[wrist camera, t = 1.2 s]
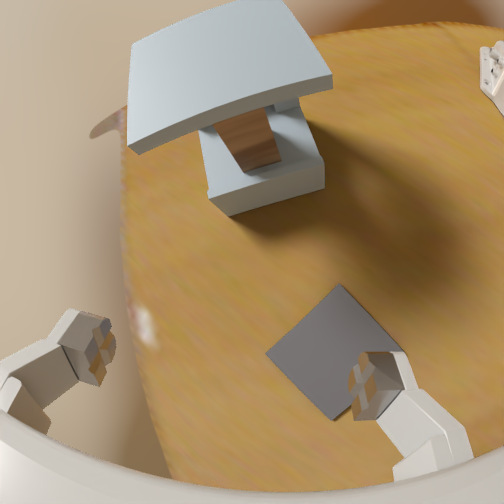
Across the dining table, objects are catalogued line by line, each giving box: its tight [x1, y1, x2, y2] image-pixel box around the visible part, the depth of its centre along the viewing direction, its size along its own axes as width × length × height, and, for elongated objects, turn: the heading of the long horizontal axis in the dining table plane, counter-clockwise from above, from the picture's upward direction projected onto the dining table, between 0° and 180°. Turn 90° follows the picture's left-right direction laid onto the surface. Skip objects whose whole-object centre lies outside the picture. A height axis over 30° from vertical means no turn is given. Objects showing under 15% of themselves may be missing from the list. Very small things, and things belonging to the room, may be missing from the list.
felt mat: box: [265, 284, 405, 421], centre depth 32 cm, size 12×12×1 cm
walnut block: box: [212, 107, 282, 173], centre depth 28 cm, size 4×4×10 cm
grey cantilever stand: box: [127, 0, 333, 217], centre depth 28 cm, size 13×14×22 cm
